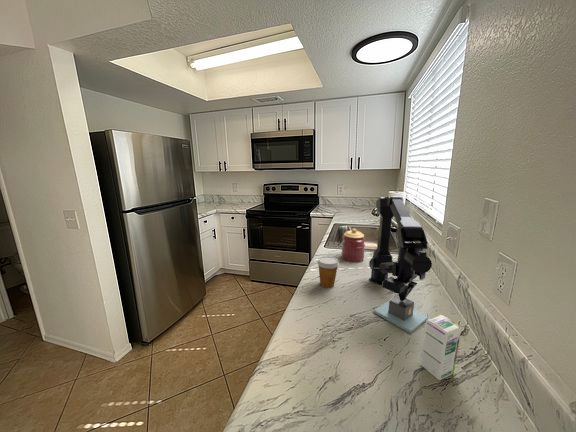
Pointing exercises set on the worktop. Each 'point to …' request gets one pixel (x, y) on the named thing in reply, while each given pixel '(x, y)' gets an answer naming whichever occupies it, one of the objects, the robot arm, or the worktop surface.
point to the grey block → (401, 308)
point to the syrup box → (440, 346)
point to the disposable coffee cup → (327, 270)
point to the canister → (353, 246)
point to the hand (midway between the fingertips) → (401, 300)
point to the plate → (407, 325)
